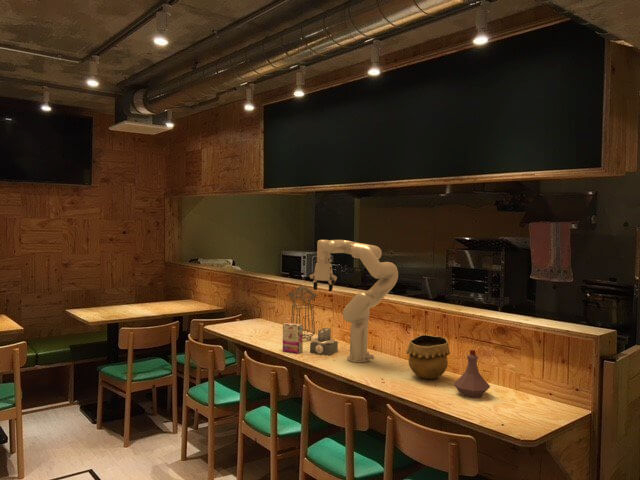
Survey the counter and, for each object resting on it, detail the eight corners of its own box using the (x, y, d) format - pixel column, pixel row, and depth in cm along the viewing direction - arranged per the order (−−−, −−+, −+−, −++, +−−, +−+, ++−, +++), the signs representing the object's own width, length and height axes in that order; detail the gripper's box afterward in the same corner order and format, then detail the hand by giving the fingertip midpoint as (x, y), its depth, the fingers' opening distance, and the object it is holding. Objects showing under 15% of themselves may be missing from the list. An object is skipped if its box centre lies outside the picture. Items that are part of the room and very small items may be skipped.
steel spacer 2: (332, 338, 313) (332, 328, 312) (328, 340, 308) (328, 330, 308) (324, 337, 315) (324, 327, 315) (320, 339, 310) (320, 329, 310)
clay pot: (436, 387, 247) (437, 345, 246) (397, 378, 261) (398, 338, 260) (457, 378, 263) (458, 338, 262) (419, 369, 277) (420, 331, 276)
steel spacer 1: (327, 340, 307) (328, 330, 307) (324, 342, 303) (324, 331, 303) (320, 339, 310) (320, 329, 309) (316, 341, 305) (316, 330, 305)
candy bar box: (302, 352, 308) (303, 324, 308) (298, 354, 304) (299, 325, 303) (286, 349, 313) (287, 322, 313) (282, 351, 309) (282, 323, 308)
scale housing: (337, 351, 312) (337, 341, 312) (328, 356, 301) (328, 345, 300) (319, 348, 317) (319, 338, 317) (309, 353, 306) (309, 342, 306)
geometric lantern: (318, 341, 336) (319, 287, 334) (295, 344, 329) (296, 288, 327) (308, 336, 350) (308, 283, 348) (286, 338, 343) (286, 285, 341)
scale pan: (337, 341, 312) (337, 339, 312) (328, 345, 301) (328, 343, 301) (319, 338, 317) (319, 336, 317) (310, 342, 306) (310, 340, 306)
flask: (474, 403, 227) (476, 357, 226) (444, 392, 240) (446, 349, 240) (498, 396, 237) (499, 352, 236) (468, 386, 250) (469, 344, 249)
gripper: (339, 261, 306) (339, 290, 307) (313, 259, 314) (312, 288, 315) (334, 262, 299) (333, 292, 300) (307, 260, 307) (306, 290, 308)
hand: (322, 290), depth 307 cm, fingers open, 9 cm apart
